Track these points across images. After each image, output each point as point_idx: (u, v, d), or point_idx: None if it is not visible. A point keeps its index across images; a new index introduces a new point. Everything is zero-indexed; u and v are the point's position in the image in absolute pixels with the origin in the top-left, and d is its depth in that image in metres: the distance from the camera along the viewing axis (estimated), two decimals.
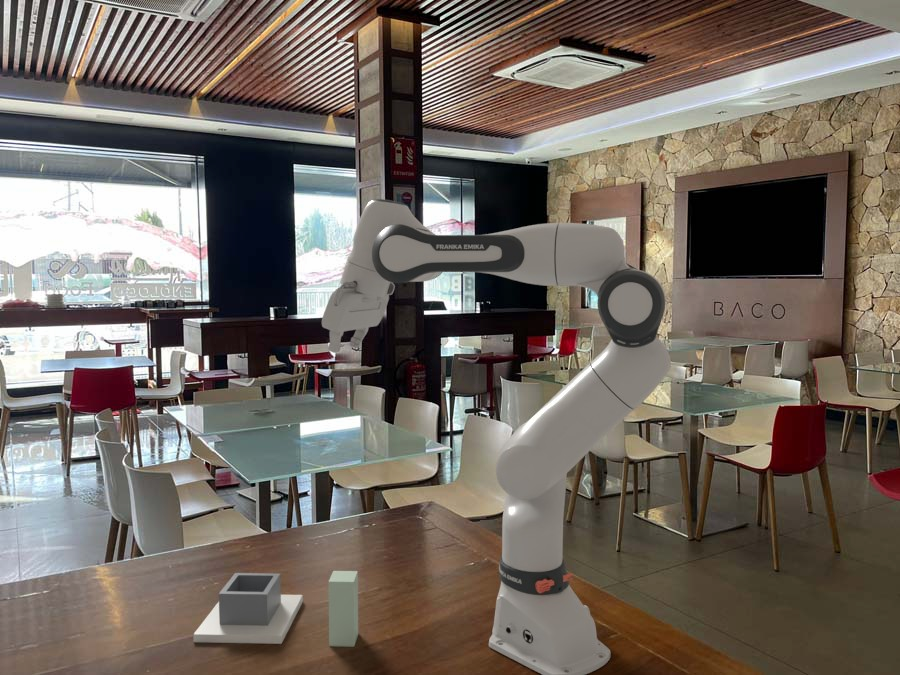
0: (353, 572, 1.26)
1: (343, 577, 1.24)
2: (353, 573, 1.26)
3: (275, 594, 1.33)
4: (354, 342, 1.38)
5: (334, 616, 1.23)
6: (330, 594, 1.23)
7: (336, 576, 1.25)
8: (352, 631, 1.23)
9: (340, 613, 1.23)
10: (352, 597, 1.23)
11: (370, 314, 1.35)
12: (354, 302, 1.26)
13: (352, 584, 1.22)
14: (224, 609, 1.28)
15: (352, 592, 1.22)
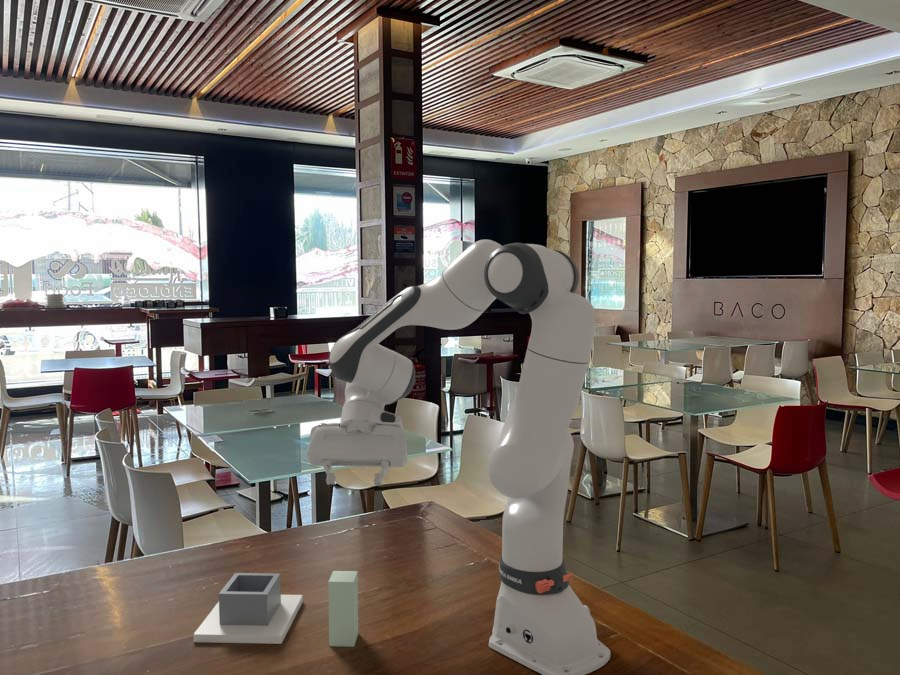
0: (353, 572, 1.26)
1: (343, 577, 1.24)
2: (353, 573, 1.26)
3: (275, 594, 1.33)
4: None
5: (334, 616, 1.23)
6: (330, 594, 1.23)
7: (336, 576, 1.25)
8: (352, 631, 1.23)
9: (340, 613, 1.23)
10: (352, 597, 1.22)
11: (374, 445, 1.39)
12: (329, 432, 1.41)
13: (352, 584, 1.22)
14: (224, 609, 1.28)
15: (352, 592, 1.22)
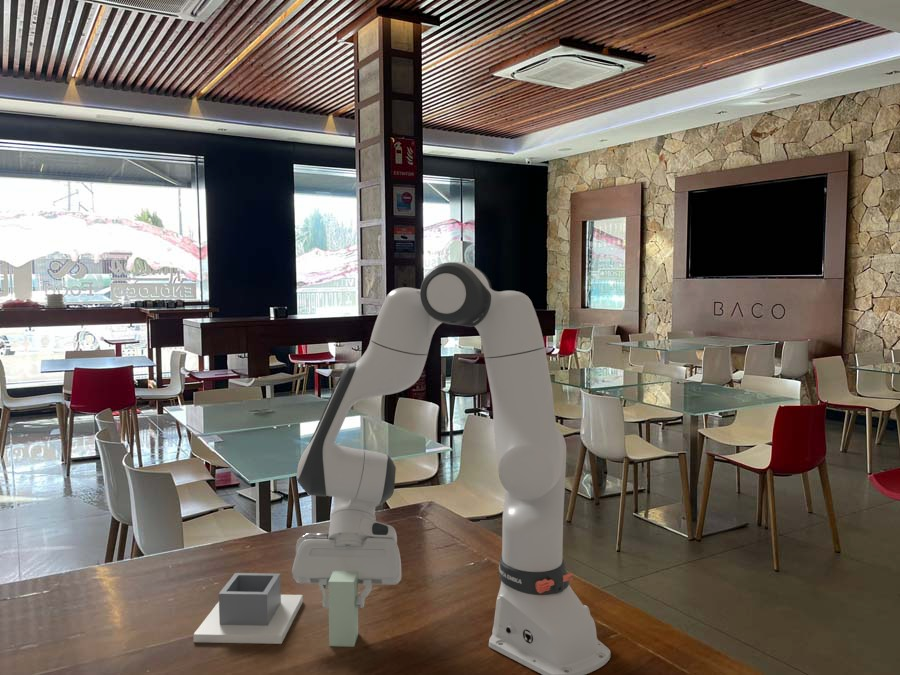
0: (353, 572, 1.26)
1: (343, 577, 1.24)
2: (353, 573, 1.26)
3: (275, 594, 1.33)
4: None
5: (334, 616, 1.23)
6: (330, 594, 1.23)
7: (336, 576, 1.25)
8: (352, 631, 1.23)
9: (340, 613, 1.23)
10: (352, 597, 1.22)
11: (365, 561, 1.28)
12: (316, 546, 1.30)
13: (352, 584, 1.22)
14: (224, 609, 1.28)
15: (352, 592, 1.22)
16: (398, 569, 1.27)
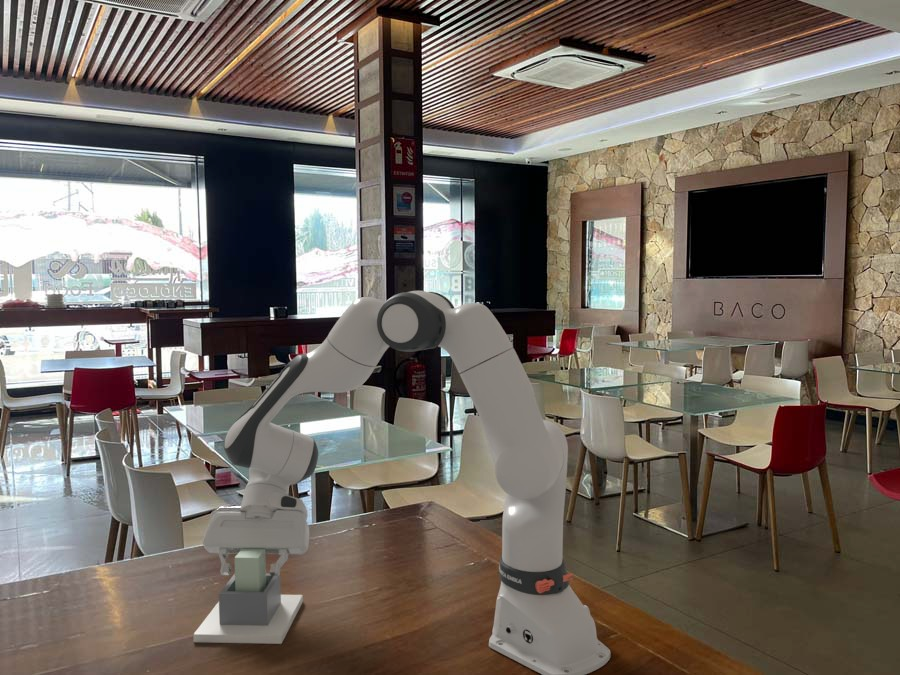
0: (261, 549, 1.33)
1: (249, 554, 1.31)
2: (260, 550, 1.32)
3: (275, 594, 1.33)
4: None
5: (240, 590, 1.29)
6: (236, 569, 1.29)
7: (243, 552, 1.31)
8: None
9: (246, 588, 1.29)
10: (257, 572, 1.29)
11: (273, 532, 1.34)
12: (227, 518, 1.36)
13: (257, 560, 1.29)
14: (224, 609, 1.28)
15: (257, 567, 1.29)
16: (303, 539, 1.33)
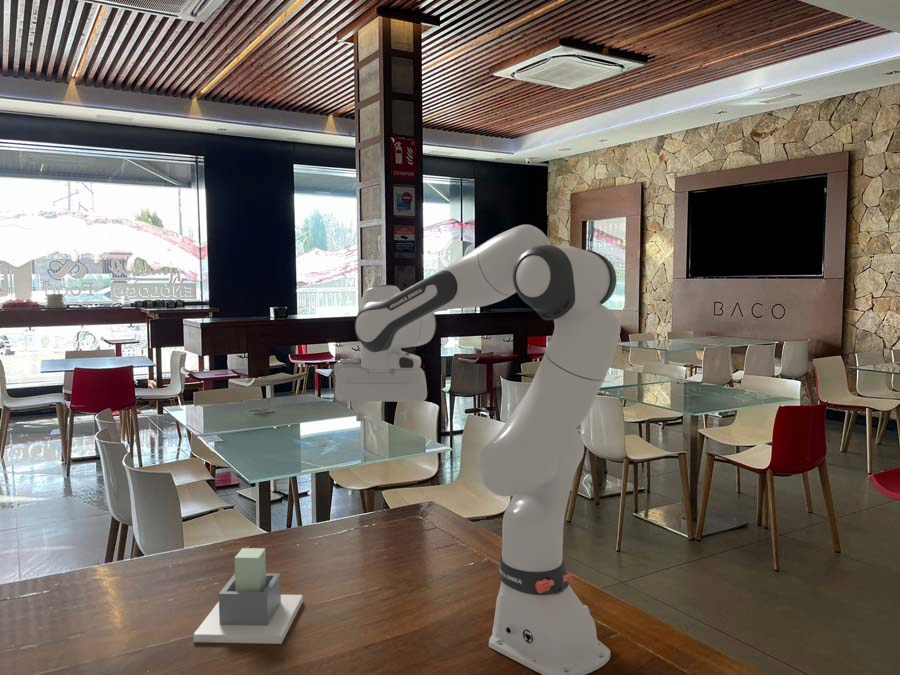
0: (261, 549, 1.33)
1: (249, 554, 1.31)
2: (260, 550, 1.32)
3: (275, 594, 1.33)
4: None
5: (240, 590, 1.29)
6: (236, 569, 1.29)
7: (243, 552, 1.31)
8: None
9: (246, 588, 1.29)
10: (257, 572, 1.29)
11: (396, 388, 1.50)
12: (352, 375, 1.50)
13: (257, 560, 1.29)
14: (224, 609, 1.28)
15: (257, 567, 1.29)
16: (424, 394, 1.50)
